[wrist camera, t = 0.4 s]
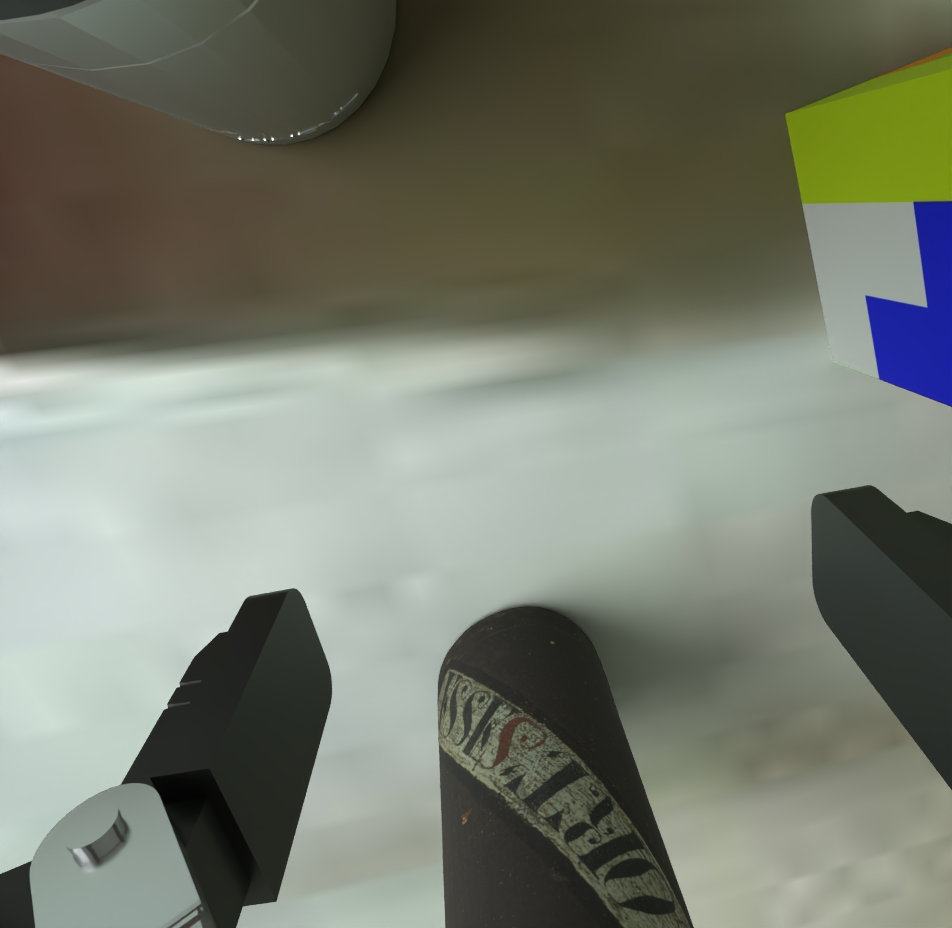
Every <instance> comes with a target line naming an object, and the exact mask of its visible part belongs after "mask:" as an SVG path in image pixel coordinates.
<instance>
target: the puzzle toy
mask: <svg viewBox="0 0 952 928" xmlns="http://www.w3.org/2000/svg"><path fill="white" fill-rule="evenodd" d="M785 116H786V121H787V127H788V132H789V137H790V142H791V147H792V153H793V158H794V163H795V168H796V174H797V179H798V184H799V189H800V194H801V200H802V205H803V210H804V215H805V220H806V226H807V231H808V236H809V241H810V247H811V252H812V257H813V262H814V267H815V273H816V278H817V283H818V288H819V293H820V299H821V304H822V309H823V314H824V319H825V325H826V330H827V335H828V340H829V346H830V351H831V356H832V361H833V362H835V363H838V364H841V365H843V366H846V367H848V368H851V369H854V370H856V371H859V372H862V373H864V374H867V375H869V376H872V377H875V378H877V379H880V380H883V381H885V382H888V383H890V384H893V385H896V386H898V387H901V388H904V389H906V390H909V391H911V392H914V393H917V394H919V395H922V396H925V397H927V398H930V399H932V400H935V401H938V402H940V403H943V404H946V405H948V406H951V407H952V47H950V48H948V49H945V50H943V51H940V52H938V53H935V54H933V55H930V56H928V57H925V58H923V59H920V60H918V61H916V62H913V63H911V64H908V65H906V66H903V67H901V68H898V69H896V70H893V71H891V72H888V73H886V74H883V75H881V76H878V77H876V78H873V79H871V80H869V81H866V82H864V83H861V84H859V85H856V86H854V87H851V88H849V89H846V90H844V91H841V92H839V93H836V94H834V95H831V96H829V97H826V98H824V99H822V100H819V101H817V102H814V103H812V104H809V105H807V106H804V107H802V108H799V109H797V110H794V111H792V112H789V113H787V114H785Z"/></svg>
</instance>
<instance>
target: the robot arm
mask: <svg viewBox="0 0 952 928" xmlns="http://www.w3.org/2000/svg"><path fill="white" fill-rule="evenodd" d="M395 23H396V0H0V54H3V55H6V56H8V57H11V58H14V59H17V60H19V61H22V62H25V63H28V64H30V65H33V66H36V67H39V68H41V69H44V70H47V71H50V72H52V73H55V74H58V75H61V76H63V77H66V78H69V79H71V80H74V81H77V82H80V83H82V84H85V85H88V86H91V87H93V88H96V89H99V90H102V91H104V92H107V93H110V94H113V95H115V96H118V97H121V98H124V99H126V100H129V101H132V102H135V103H137V104H140V105H143V106H146V107H148V108H151V109H154V110H157V111H159V112H162V113H165V114H167V115H170V116H173V117H176V118H178V119H181V120H184V121H187V122H189V123H192V124H195V125H197V126H200V127H203V128H205V129H208V130H211V131H214V132H217V133H219V134H222V135H225V136H228V137H231V138H234V139H238V140H241V141H247V142H251V143H256V144H260V145H288V144H292V143H297V142H301V141H305V140H309V139H313V138H316V137H318V136H319V135H321V134H323V133H325V132H327V131H329V130H331V129H333V128H335V127H337V126H339V125H340V124H341V123H342V122H343V121H344V120H346V119H347V118H348V117H349V116H350V115H351V114H353V113H354V112H355V111H356V110H357V109H359V107H360V106H361V105H362V103H363V102H364V101H365V99H366V98H367V97H368V95H369V94H370V92H371V91H372V90H373V88H374V87H375V86H376V84H377V82H378V79H379V77H380V75H381V73H382V71H383V68H384V66H385V64H386V62H387V60H388V57H389V52H390V48H391V44H392V40H393V35H394V31H395ZM811 521H812V575H813V589H814V594H815V598H816V602H817V605H818V608H819V610H820V613H821V615H822V617H823V619H824V620H825V622H826V624H827V625H828V626H829V628H830V629H831V630H832V632H833V633H834V634H835V636H836V637H837V638H838V640H839V641H840V642H841V644H842V645H843V646H844V648H845V649H846V650H847V652H848V653H849V654H850V656H851V657H852V658H853V660H854V661H855V662H856V664H857V665H858V666H859V668H860V669H861V670H862V672H863V673H864V674H865V675H866V677H867V678H868V679H869V681H870V682H871V683H872V685H873V686H874V687H875V689H876V690H877V691H878V693H879V694H880V695H881V697H882V698H883V699H884V701H885V702H886V703H887V705H888V706H889V707H890V709H891V710H892V711H893V713H894V714H895V715H896V717H897V718H898V719H899V721H900V722H901V723H902V725H903V726H904V727H905V729H906V730H907V731H908V733H909V734H910V735H911V737H912V738H913V739H914V741H915V742H916V743H917V744H918V746H919V747H920V748H921V750H922V751H923V752H924V754H925V755H926V756H927V758H928V759H929V760H930V762H931V763H932V764H933V766H934V767H935V768H936V770H937V771H938V772H939V774H940V775H941V776H942V778H943V779H944V780H945V782H946V783H947V784H948V786H949V787H950V788H951V790H952V524H950V523H948V522H945V521H943V520H940V519H938V518H935V517H932V516H930V515H927V514H925V513H922V512H920V511H914V512H908V513H906V512H905V511H904V510H903V509H901V508H900V507H899V506H898V505H896V504H895V503H894V502H893V501H892V500H890V499H889V498H888V497H887V496H886V495H884V494H883V493H882V492H881V491H879V490H878V489H877V488H875V487H874V486H871V485H867V486H861V487H856V488H850V489H845V490H839V491H834V492H828V493H823V494H818V495H816V496H815V497H814V499H813V502H812V507H811ZM331 698H332V681H331V674H330V669H329V665H328V662H327V659H326V656H325V654H324V651H323V648H322V646H321V643H320V640H319V638H318V635H317V633H316V630H315V627H314V625H313V622H312V619H311V617H310V614H309V611H308V609H307V606H306V603H305V601H304V598H303V597H302V595H301V593H300V592H299V591H298V590H297V589H294V588H292V589H287V590H281V591H276V592H270V593H265V594H259V595H254V596H249V597H247V598H246V599H245V601H244V602H243V604H242V606H241V608H240V610H239V612H238V614H237V615H236V617H235V619H234V621H233V623H232V625H231V627H230V629H229V630H228V632H223V633H219V634H218V635H217V636H216V637H215V638H214V639H213V640H212V641H211V642H210V643H209V644H208V645H207V646H205V647H204V648H203V649H202V650H201V651H200V652H199V653H198V654H197V655H196V656H195V657H194V659H193V660H192V662H191V664H190V666H189V667H188V669H187V671H186V672H185V674H184V676H183V678H182V679H181V681H180V687H179V688H176V690H175V692H174V693H173V695H172V697H171V699H170V700H169V702H168V704H167V705H168V709H165V710H164V711H163V712H162V714H161V716H160V718H159V719H158V721H157V723H156V725H155V726H154V728H153V730H152V731H151V733H150V735H149V737H148V738H147V740H146V742H145V744H144V745H143V747H142V749H141V751H140V752H139V754H138V756H137V758H136V759H135V761H134V763H133V764H132V766H131V768H130V770H129V771H128V773H127V775H126V777H125V778H124V780H123V782H122V784H121V785H119V786H116V787H112V788H109V789H107V790H105V791H102V792H100V793H98V794H96V795H94V796H93V797H91V798H89V799H87V800H86V801H84V802H83V803H81V804H80V805H78V806H77V807H76V808H74V809H73V810H72V811H70V812H69V813H68V814H67V815H66V816H65V817H63V818H62V819H61V820H60V821H59V822H58V823H57V824H56V825H55V826H54V827H53V828H52V829H51V831H50V832H49V833H48V834H47V836H46V837H45V838H44V840H43V841H42V842H41V844H40V846H39V847H38V849H37V851H36V853H35V855H34V857H33V860H32V861H31V862H28V863H26V864H23V865H21V866H19V867H16V868H14V869H11V870H9V871H7V872H4V873H2V874H0V928H236V926H237V923H238V920H239V917H240V913H241V910H242V907H243V906H248V905H256V904H263V903H270V902H276V901H277V897H278V894H279V890H280V887H281V883H282V879H283V876H284V872H285V868H286V865H287V861H288V857H289V854H290V850H291V846H292V843H293V839H294V836H295V832H296V828H297V825H298V821H299V817H300V814H301V810H302V806H303V803H304V799H305V796H306V792H307V788H308V785H309V781H310V777H311V774H312V770H313V766H314V763H315V759H316V755H317V752H318V748H319V745H320V741H321V737H322V734H323V730H324V726H325V723H326V719H327V715H328V712H329V708H330V704H331Z"/></svg>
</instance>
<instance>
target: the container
mask: <svg viewBox="0 0 952 928" xmlns="http://www.w3.org/2000/svg"><path fill="white" fill-rule="evenodd" d="M438 731H439V737H438V741H439V754H440V788H441V811H442V840H443V873H444V900H445V926H446V928H694V927H693V924H692V922H691V919H690V916H689V913H688V910H687V907H686V904H685V901H684V898H683V895H682V893H681V890H680V888H679V885H678V882H677V879H676V876H675V874H674V871H673V868H672V865H671V863H670V860H669V857H668V854H667V851H666V848H665V845H664V842H663V840H662V837H661V834H660V831H659V829H658V826H657V823H656V821H655V818H654V815H653V812H652V809H651V806H650V804H649V801H648V798H647V795H646V792H645V789H644V786H643V784H642V780H641V778H640V775H639V772H638V769H637V766H636V763H635V760H634V757H633V755H632V752H631V749H630V746H629V743H628V740H627V738H626V735H625V732H624V729H623V726H622V724H621V721H620V718H619V715H618V712H617V709H616V706H615V703H614V699H613V696H612V693H611V690H610V687H609V684H608V681H607V678H606V675H605V673H604V670H603V667H602V664H601V662H600V659H599V657H598V655H597V652H596V650H595V648H594V646H593V644H592V642H591V641H590V639H589V638H588V637H587V635H586V634H585V633H584V632H583V631H582V630H581V629H580V628H579V627H578V626H577V625H576V624H575V623H573V622H572V621H570V620H569V619H567V618H566V617H564V616H562V615H560V614H557V613H555V612H552V611H549V610H546V609H542V608H534V607H520V608H513V609H508V610H504V611H501V612H498V613H496V614H494V615H491V616H489V617H487V618H485V619H483V620H481V621H479V622H478V623H476V624H474V625H473V626H471V627H470V628H469V629H467V630H466V631H465V632H464V633H463V634H462V635H461V636H460V637H459V639H458V640H457V641H456V642H455V643H454V645H453V646H452V647H451V649H450V650H449V651H448V653H447V655H446V657H445V659H444V661H443V664H442V666H441V670H440V674H439V680H438Z"/></svg>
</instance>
